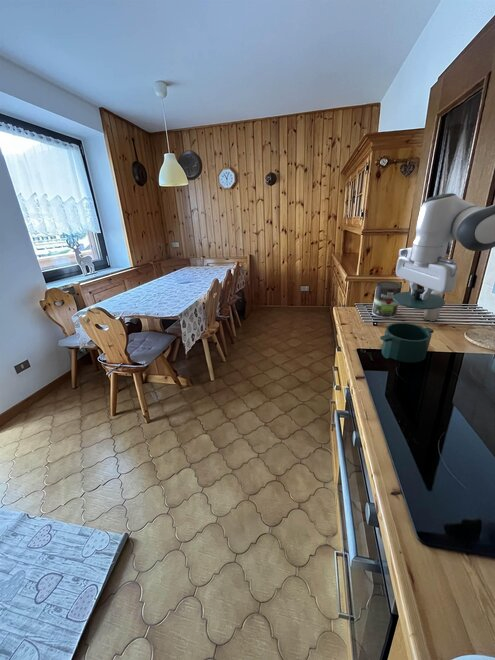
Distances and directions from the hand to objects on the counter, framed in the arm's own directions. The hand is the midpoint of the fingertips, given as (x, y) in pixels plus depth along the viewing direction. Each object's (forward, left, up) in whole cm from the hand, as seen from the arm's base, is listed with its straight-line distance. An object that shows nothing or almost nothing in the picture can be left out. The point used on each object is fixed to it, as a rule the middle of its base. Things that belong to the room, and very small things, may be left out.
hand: (418, 297), depth 91 cm
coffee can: (+32, -14, -22) cm, 41 cm away
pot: (0, +2, -22) cm, 22 cm away
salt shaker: (+20, -28, -22) cm, 41 cm away
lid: (0, 0, -1) cm, 1 cm away
